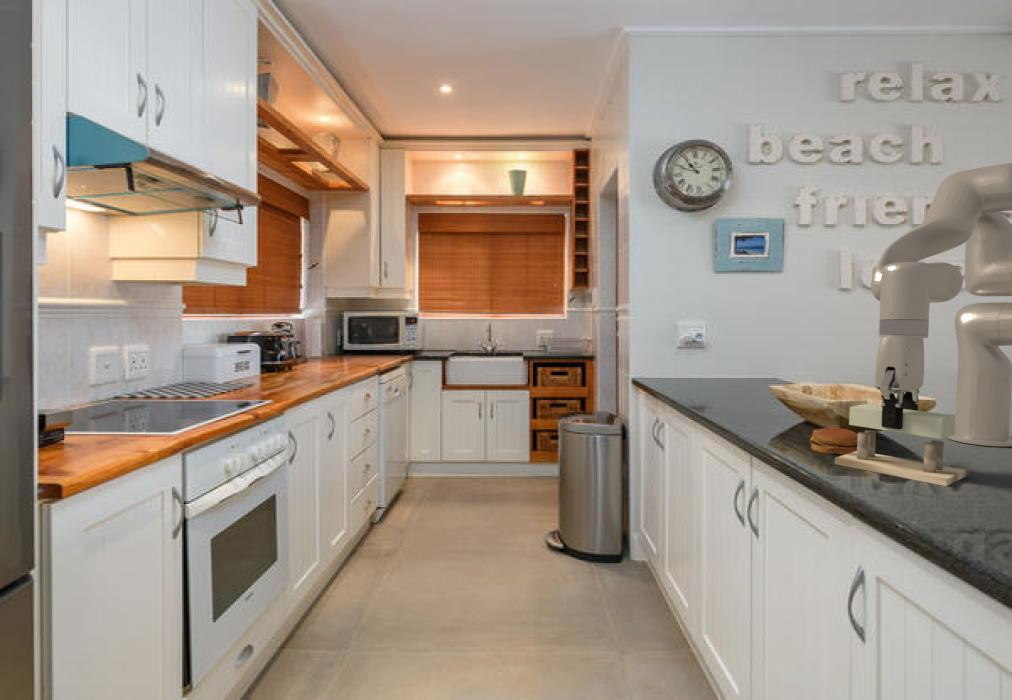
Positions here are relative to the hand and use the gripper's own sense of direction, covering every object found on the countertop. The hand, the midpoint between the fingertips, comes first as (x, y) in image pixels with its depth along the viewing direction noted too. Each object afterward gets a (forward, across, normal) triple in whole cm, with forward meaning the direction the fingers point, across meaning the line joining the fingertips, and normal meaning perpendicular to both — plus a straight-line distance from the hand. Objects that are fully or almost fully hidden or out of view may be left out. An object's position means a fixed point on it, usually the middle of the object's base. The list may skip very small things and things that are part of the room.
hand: (899, 425), depth 106 cm
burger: (+9, -7, -14) cm, 18 cm away
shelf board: (+1, 0, 0) cm, 1 cm away
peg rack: (+8, 0, 0) cm, 8 cm away
